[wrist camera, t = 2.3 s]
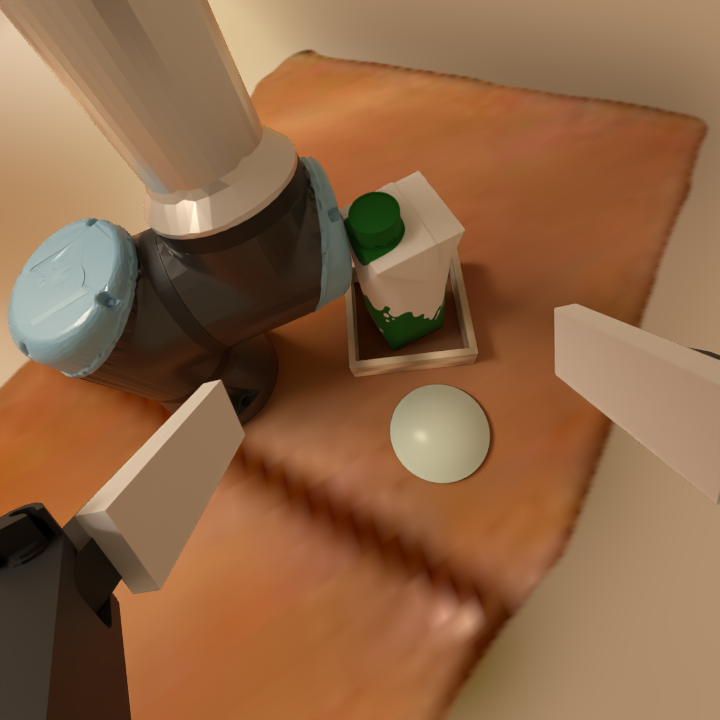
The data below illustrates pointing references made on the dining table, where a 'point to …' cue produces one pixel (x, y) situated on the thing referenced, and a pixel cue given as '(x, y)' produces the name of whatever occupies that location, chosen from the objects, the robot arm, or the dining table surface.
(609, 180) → the dining table surface
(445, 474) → the pale green disc
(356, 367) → the dock
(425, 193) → the soya milk
